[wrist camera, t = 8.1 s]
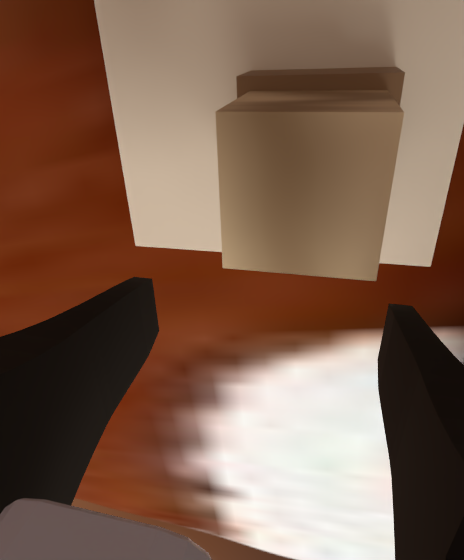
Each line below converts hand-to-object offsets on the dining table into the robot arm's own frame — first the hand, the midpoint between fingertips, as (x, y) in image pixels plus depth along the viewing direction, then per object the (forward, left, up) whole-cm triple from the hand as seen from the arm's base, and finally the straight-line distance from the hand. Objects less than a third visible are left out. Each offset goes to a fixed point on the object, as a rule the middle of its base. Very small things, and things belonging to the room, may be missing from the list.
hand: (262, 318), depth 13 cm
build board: (+1, -3, -10) cm, 11 cm away
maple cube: (-1, -3, -7) cm, 7 cm away
